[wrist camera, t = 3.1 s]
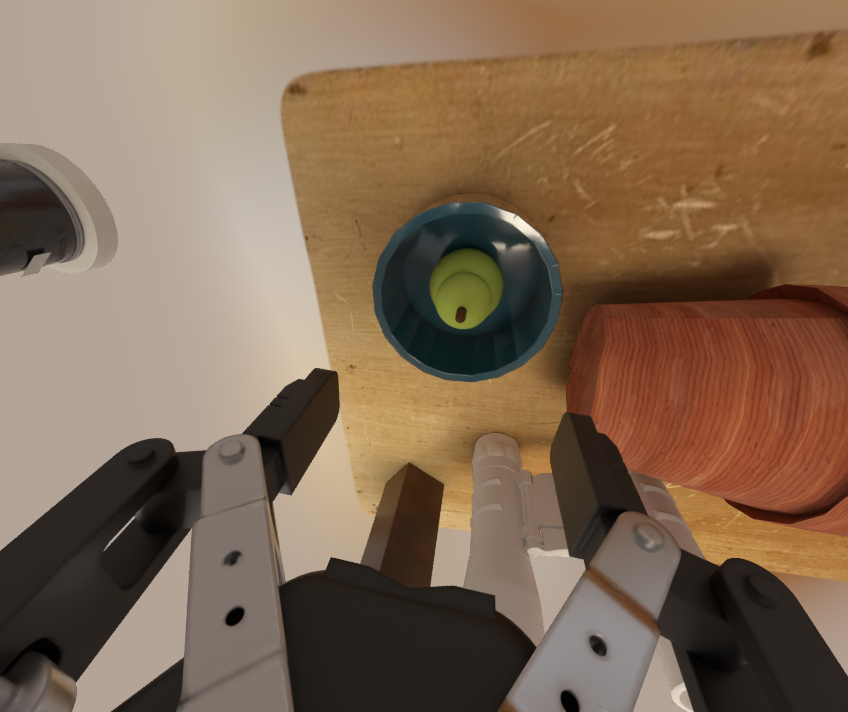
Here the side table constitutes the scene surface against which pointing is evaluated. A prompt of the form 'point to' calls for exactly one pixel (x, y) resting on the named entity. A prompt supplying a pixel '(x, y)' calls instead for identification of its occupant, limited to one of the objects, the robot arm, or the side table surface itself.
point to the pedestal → (406, 528)
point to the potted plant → (727, 398)
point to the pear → (466, 287)
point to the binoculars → (518, 538)
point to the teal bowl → (501, 330)
